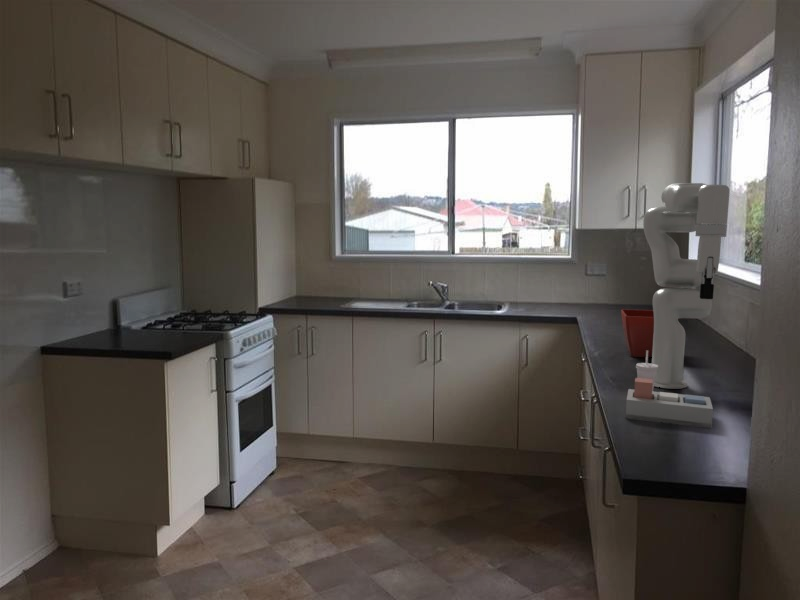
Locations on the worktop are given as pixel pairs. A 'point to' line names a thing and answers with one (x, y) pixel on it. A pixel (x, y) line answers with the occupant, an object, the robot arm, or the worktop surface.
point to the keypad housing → (669, 410)
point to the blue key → (695, 399)
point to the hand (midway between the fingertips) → (706, 298)
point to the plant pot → (638, 331)
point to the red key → (643, 388)
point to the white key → (668, 397)
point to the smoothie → (647, 370)
